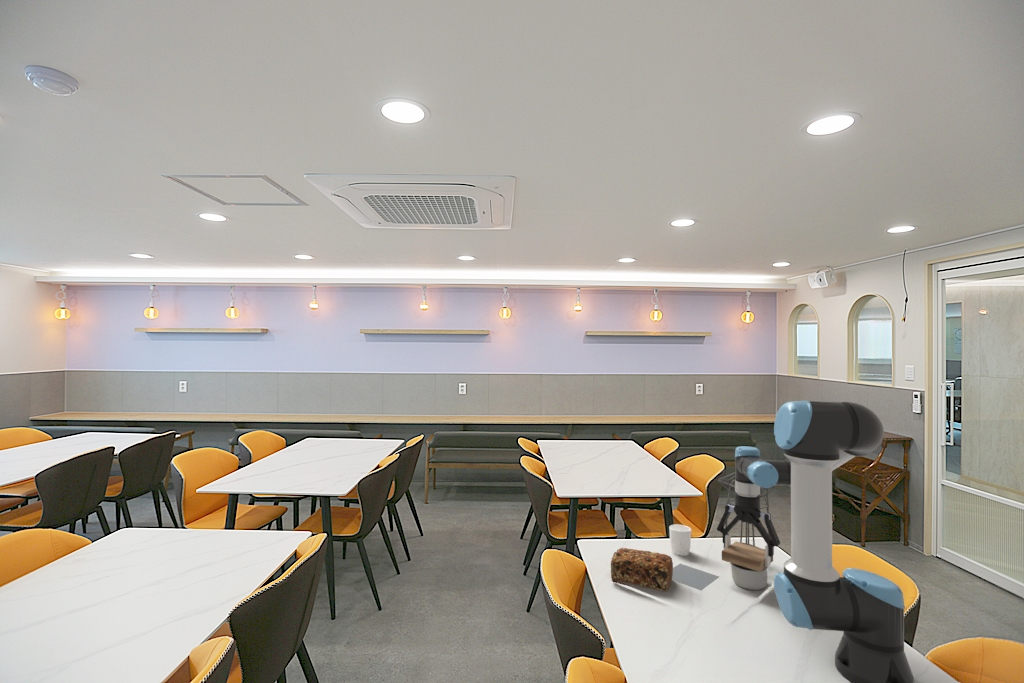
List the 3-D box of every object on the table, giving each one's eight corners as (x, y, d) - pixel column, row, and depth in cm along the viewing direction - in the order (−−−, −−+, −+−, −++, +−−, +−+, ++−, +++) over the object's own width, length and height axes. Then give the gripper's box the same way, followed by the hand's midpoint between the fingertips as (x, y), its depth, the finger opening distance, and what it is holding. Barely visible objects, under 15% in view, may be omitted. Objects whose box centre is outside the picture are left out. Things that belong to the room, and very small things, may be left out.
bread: (673, 583, 163) (673, 552, 163) (667, 596, 153) (667, 564, 154) (618, 570, 172) (618, 541, 172) (609, 582, 162) (609, 552, 163)
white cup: (664, 552, 188) (664, 526, 188) (680, 549, 191) (680, 523, 191) (679, 560, 181) (679, 532, 181) (695, 556, 184) (695, 529, 184)
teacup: (771, 597, 154) (771, 571, 154) (734, 593, 156) (734, 567, 156) (758, 577, 167) (758, 553, 168) (725, 574, 170) (725, 550, 170)
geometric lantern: (752, 577, 167) (752, 474, 168) (714, 559, 181) (714, 464, 182) (781, 568, 175) (781, 469, 175) (743, 552, 188) (743, 461, 189)
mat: (701, 593, 155) (701, 590, 155) (660, 578, 165) (660, 575, 165) (719, 579, 165) (719, 576, 165) (680, 566, 175) (680, 563, 175)
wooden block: (760, 571, 154) (760, 562, 154) (721, 559, 162) (721, 550, 162) (773, 560, 162) (773, 551, 162) (735, 550, 171) (735, 541, 171)
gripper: (791, 499, 156) (791, 568, 156) (715, 484, 174) (715, 545, 173) (783, 504, 151) (783, 575, 151) (706, 488, 168) (706, 551, 168)
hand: (747, 559), depth 162 cm, fingers closed on wooden block, 12 cm apart
